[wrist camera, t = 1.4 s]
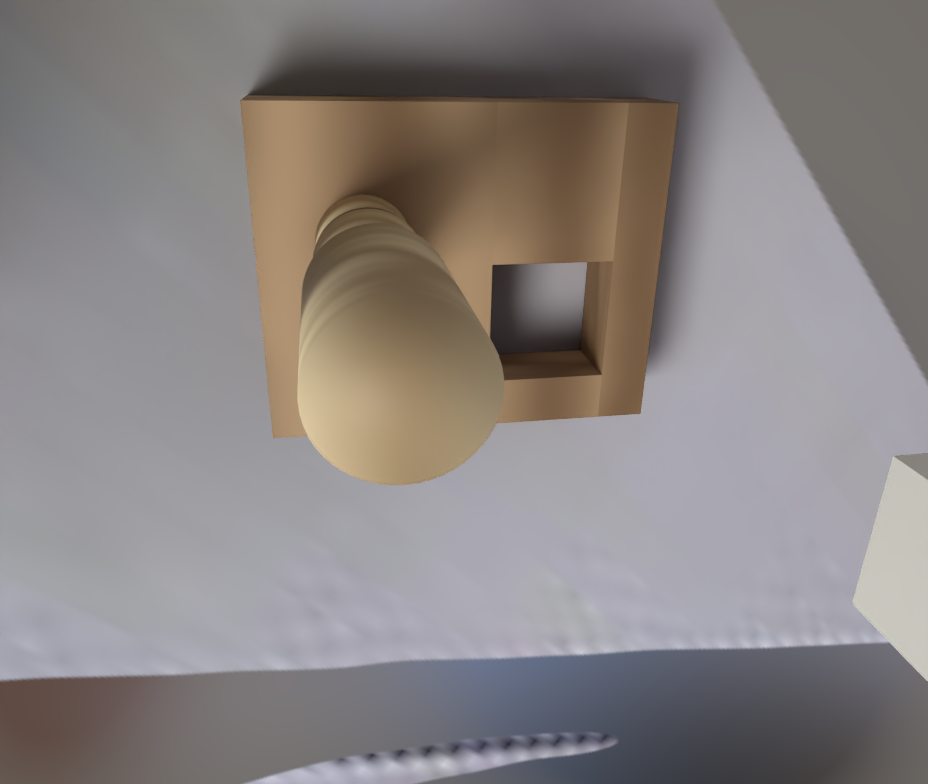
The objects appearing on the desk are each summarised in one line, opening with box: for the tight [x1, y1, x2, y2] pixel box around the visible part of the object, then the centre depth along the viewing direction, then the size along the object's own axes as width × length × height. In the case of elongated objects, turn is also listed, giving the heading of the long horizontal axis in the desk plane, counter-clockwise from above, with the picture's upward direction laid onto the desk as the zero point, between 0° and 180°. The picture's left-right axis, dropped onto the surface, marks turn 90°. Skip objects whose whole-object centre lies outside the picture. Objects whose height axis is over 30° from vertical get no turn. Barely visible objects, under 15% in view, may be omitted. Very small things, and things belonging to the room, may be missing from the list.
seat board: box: [240, 95, 679, 438], centre depth 31 cm, size 16×13×3 cm
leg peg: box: [297, 194, 504, 485], centre depth 22 cm, size 4×4×14 cm
